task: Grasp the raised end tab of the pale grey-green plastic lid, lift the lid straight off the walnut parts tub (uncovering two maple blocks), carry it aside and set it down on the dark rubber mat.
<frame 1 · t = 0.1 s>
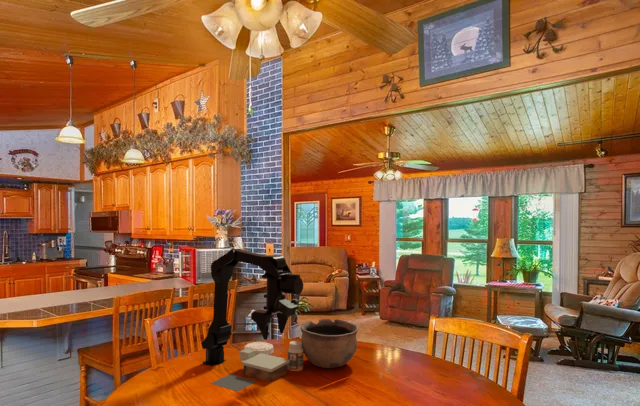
hand: (273, 336, 147), 15 cm above the table, fingers open, 9 cm apart
pill bottle: (295, 370, 155), on the table
block a: (260, 373, 150), point 1 cm above the table, touching tub
ceramic bowl: (328, 365, 160), on the table
block b: (271, 373, 150), point 1 cm above the table, touching tub
mooncake: (258, 354, 173), on the table
mat: (234, 383, 141), on the table
tub: (265, 374, 150), on the table
lid: (265, 363, 150), point 4 cm above the table, touching tub
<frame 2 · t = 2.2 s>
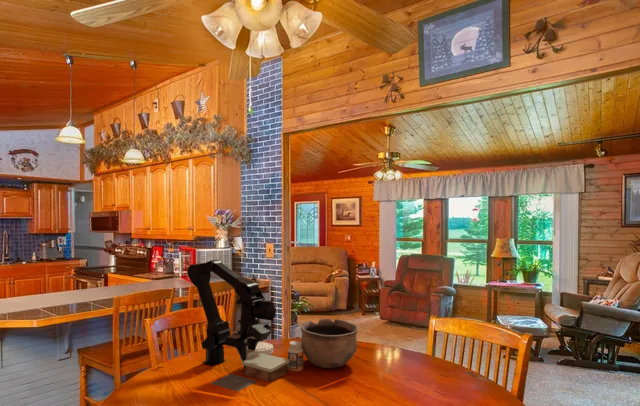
hand: (247, 359, 154), 4 cm above the table, fingers closed on lid, 4 cm apart
lid: (265, 363, 150), point 4 cm above the table, touching gripper, tub
everything else where it was.
when the fingers open (2 cm above the table, at t = 6.3 s): lid stays where it is, resting on mat.
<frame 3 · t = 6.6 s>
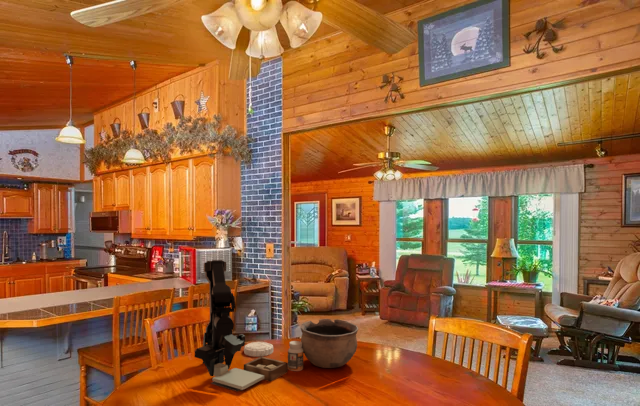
hand: (220, 372, 145), 2 cm above the table, fingers open, 7 cm apart
lid: (238, 379, 140), point 2 cm above the table, touching mat
everything else where it was.
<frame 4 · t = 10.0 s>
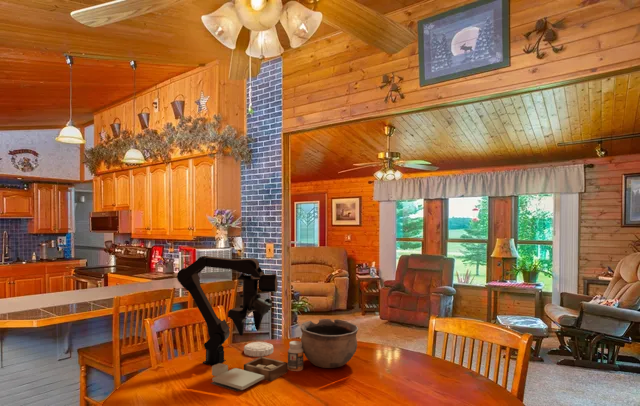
hand: (249, 332, 160), 12 cm above the table, fingers open, 9 cm apart
nothing on the table moved.
at the end: lid inside the target area on the mat (1.5 cm from its centre), point 1.8 cm above the mat's base; lid touching mat; the gripper is holding nothing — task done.
